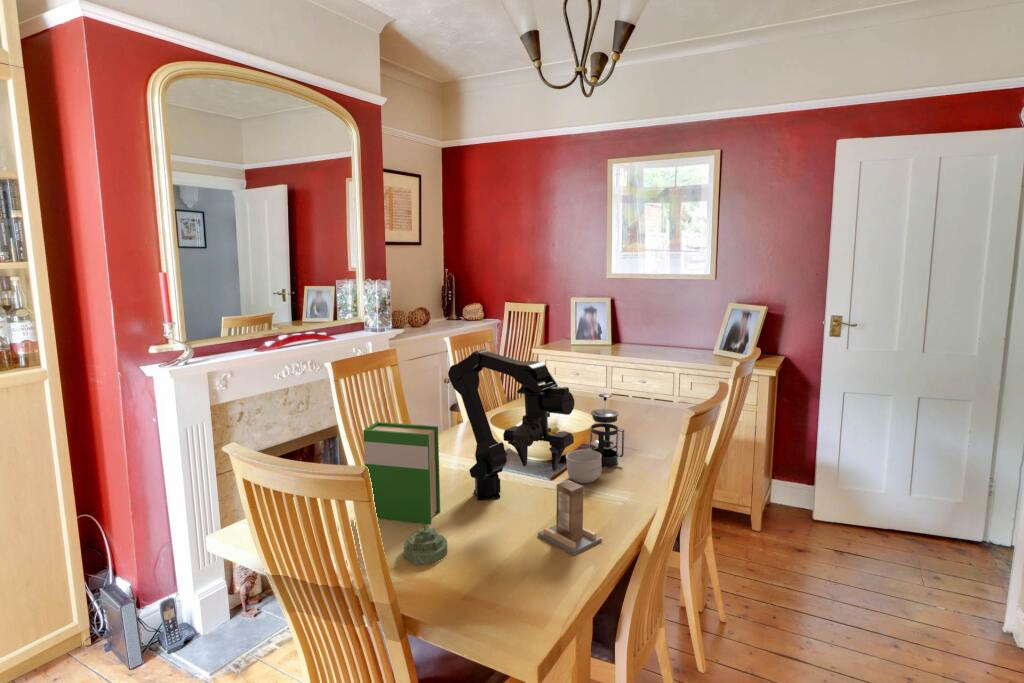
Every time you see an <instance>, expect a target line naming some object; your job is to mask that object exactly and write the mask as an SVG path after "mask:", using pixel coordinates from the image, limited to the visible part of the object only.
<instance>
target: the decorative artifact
mask: <svg viewBox="0 0 1024 683" xmlns="http://www.w3.org/2000/svg"><path fill="white" fill-rule="evenodd" d="M403 555H404V559H405V561H407V562H408V563H410V564H413V565H418V566H419V565H420V566H428V564H429V565H433V564H432V563H434V564H436V563H435V562H437V561H439V560H441V559H443V558H444V557H445V556H446V557H447V555H448V540H447V538H446V537H445V536H443V535H441V534H439V533H438V532H437V531H435V529H434V528H429V526H427V525H424V526H423V528H419V529H417V532H415V533H414V534H412V535H411V537H409V538H408V539H406V540H405V541H404V543H403ZM446 557H445V558H446ZM445 558H444V559H445ZM444 559H443V560H444ZM441 561H442V560H441ZM439 562H440V561H439ZM437 563H438V562H437Z"/></svg>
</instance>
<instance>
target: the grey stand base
mask: <svg viewBox="0 0 1024 683" xmlns="http://www.w3.org/2000/svg"><path fill="white" fill-rule="evenodd" d="M537 536H538V537H539V538H541V539H543V540H544V539H545V540H544V541H545V542H548V543H549V544H551V545H554V546H555V547H557V548H559V549H561V550H563V551H564V552H566V553H568V554H569V555H571V556H575V555H577V554H579V553H580V552H583V551H585V550H586V549H589V548H590V547H593V546H595V545H597V544H599V543H601V542H602V541H603V538H602V537H601V536H598V535H597V532H594V531H592V530H590V529H588V528H587V527H584V526H583V537H581V538H579V539H577V540H575V541H572V540H570V539H568V538H566V537H564V536H562V535H560V534H558V533H556V524H555V525H553V526H550V527H544V528H543V530H541V531H539V532H538V533H537Z"/></svg>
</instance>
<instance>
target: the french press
mask: <svg viewBox="0 0 1024 683" xmlns="http://www.w3.org/2000/svg"><path fill="white" fill-rule="evenodd" d="M598 397H599V398H603V401H604V408H600V409H599V408H598V409H593V410H591V411H590V414H591V416H592V419H593V421H594V422H596V423H594V424H592V425H591V426H590V438H589V448H591V449H592V450H593V451H597V452H599V453H600V454H601V455H602V457H601V465H602V467H601V468H603V467H608V468H614V467H616V466H618V464H619V460H618V457H620V458H622V457H624V452H625V451H624V450H625V429H623V428H619V427H618V426H617V425H616V424H613V423H615V422H617V421H618V416H619V415H620V413H619V412H618V411H616V410H613V409H606V403H607V398H611V397H612V394H611V393H610V394H609V393H599V394H598ZM596 428H603V431H601V430H597V429H596ZM611 429H613V430H611ZM619 432H620V433H622V435H621V453H619V451H618V449H619ZM593 434H594V435H596V436H597V438H598V439H596V440H593ZM615 435H616V437H615V438H616V439H615V441H613V440H610V439H611V437H610V436H615ZM615 465H616V466H615ZM613 466H614V467H613Z"/></svg>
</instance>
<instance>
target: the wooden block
mask: <svg viewBox="0 0 1024 683" xmlns="http://www.w3.org/2000/svg"><path fill="white" fill-rule="evenodd" d="M583 520H584V486H583V485H581V484H580V483H578V482H575V481H571V480H569V479H567V480H565V481H563V482H562V481H561V482H560V483H556V521H555V522H556V524H555V525H556V533H558V534H560V535H562V536H564V537H566V538H568V539H570V540H572V541H575V540H577V539H579V538H581V537H583V527H584V524H583V523H584V521H583Z"/></svg>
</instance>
